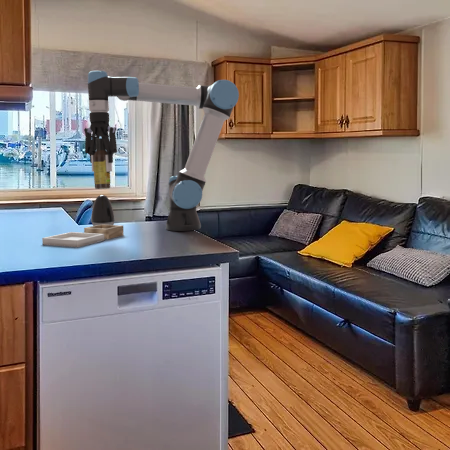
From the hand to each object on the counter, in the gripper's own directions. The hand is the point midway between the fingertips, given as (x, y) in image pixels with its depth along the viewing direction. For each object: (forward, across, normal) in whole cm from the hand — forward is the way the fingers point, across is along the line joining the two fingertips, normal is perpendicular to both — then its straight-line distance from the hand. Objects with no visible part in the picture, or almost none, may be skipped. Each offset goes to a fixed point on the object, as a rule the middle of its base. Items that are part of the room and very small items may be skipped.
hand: (101, 171), depth 213 cm
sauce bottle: (+7, 0, 0) cm, 7 cm away
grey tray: (+26, -2, -16) cm, 31 cm away
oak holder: (+26, 0, 0) cm, 26 cm away
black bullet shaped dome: (+26, -13, +17) cm, 34 cm away
